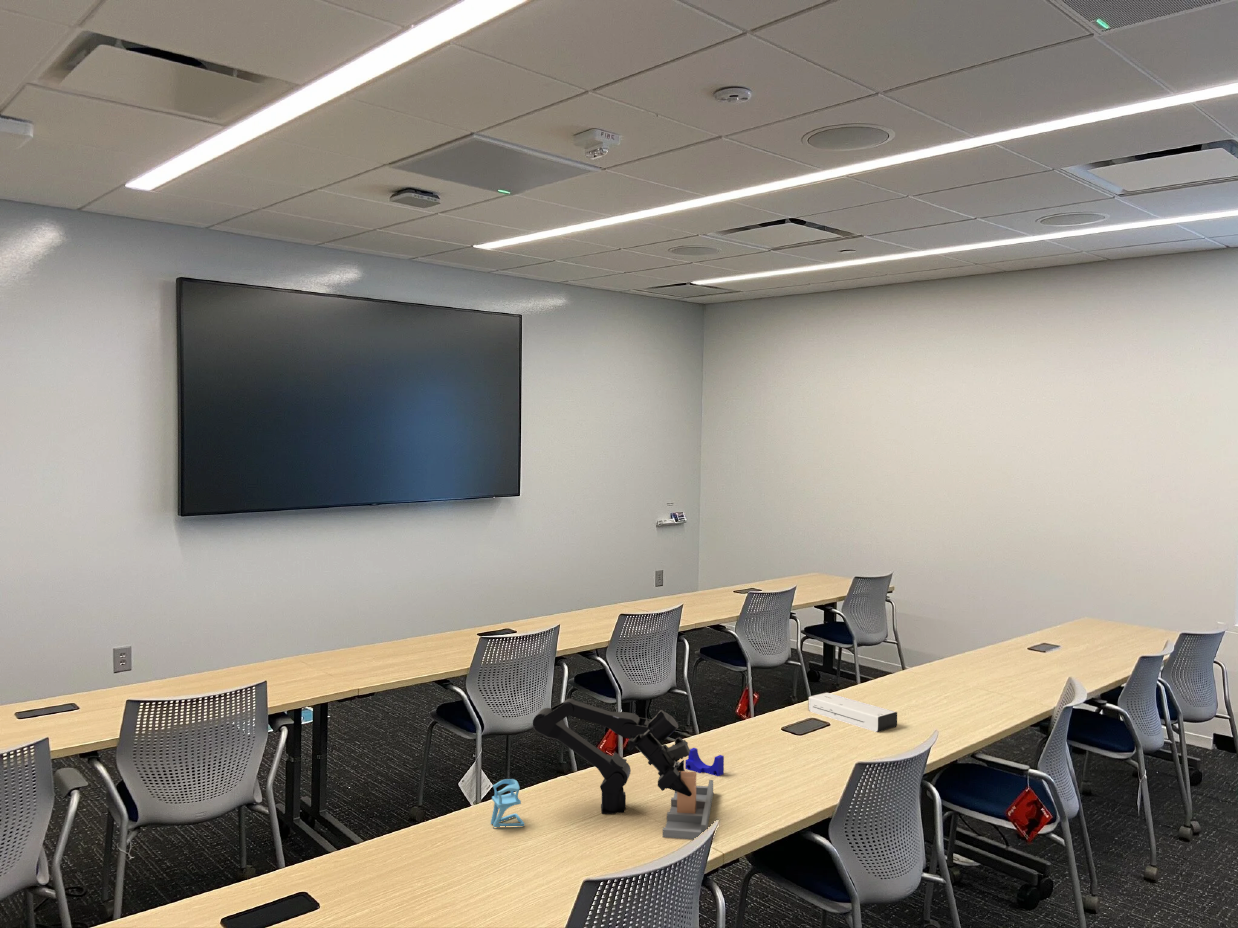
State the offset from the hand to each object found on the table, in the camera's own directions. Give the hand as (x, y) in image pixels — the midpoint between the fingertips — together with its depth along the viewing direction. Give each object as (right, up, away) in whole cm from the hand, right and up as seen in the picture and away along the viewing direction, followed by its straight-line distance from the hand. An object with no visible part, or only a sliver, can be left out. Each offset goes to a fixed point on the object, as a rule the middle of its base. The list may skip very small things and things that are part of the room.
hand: (691, 791), depth 253 cm
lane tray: (-1, -7, 0) cm, 7 cm away
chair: (-52, -7, -6) cm, 53 cm away
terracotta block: (-1, -6, 0) cm, 6 cm away
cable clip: (+7, -7, +35) cm, 37 cm away
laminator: (+70, -6, +93) cm, 116 cm away
